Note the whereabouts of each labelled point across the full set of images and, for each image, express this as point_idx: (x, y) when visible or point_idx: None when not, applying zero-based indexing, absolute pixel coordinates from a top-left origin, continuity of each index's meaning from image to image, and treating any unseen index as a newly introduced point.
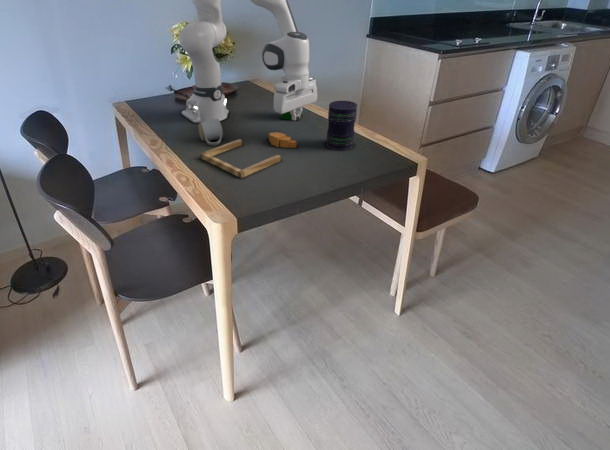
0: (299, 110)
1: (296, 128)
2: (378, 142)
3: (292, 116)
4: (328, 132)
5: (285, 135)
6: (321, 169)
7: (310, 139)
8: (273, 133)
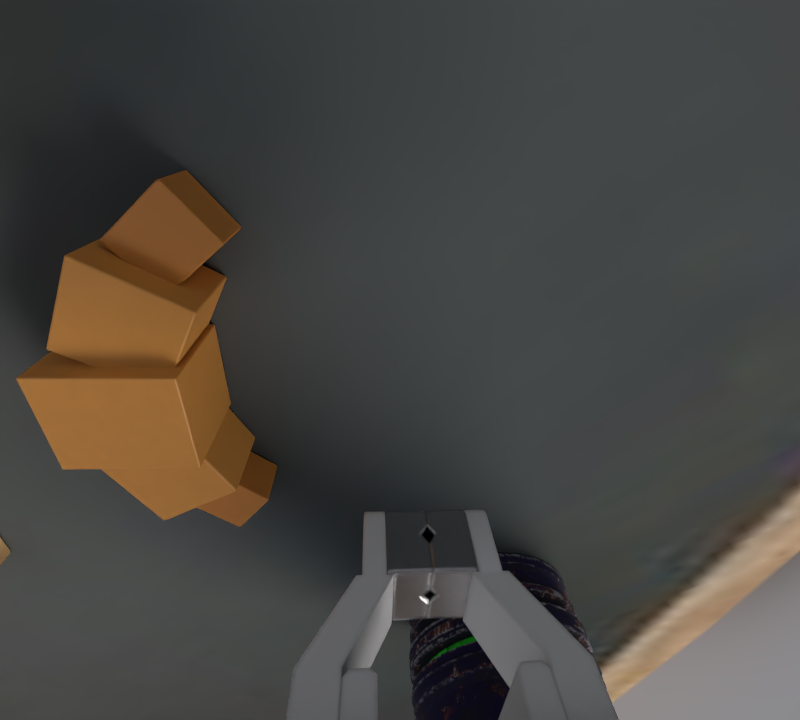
0: (512, 670)
1: (632, 208)
2: (621, 662)
3: (364, 565)
4: (430, 693)
5: (192, 463)
6: (177, 679)
7: (451, 467)
8: (121, 310)
